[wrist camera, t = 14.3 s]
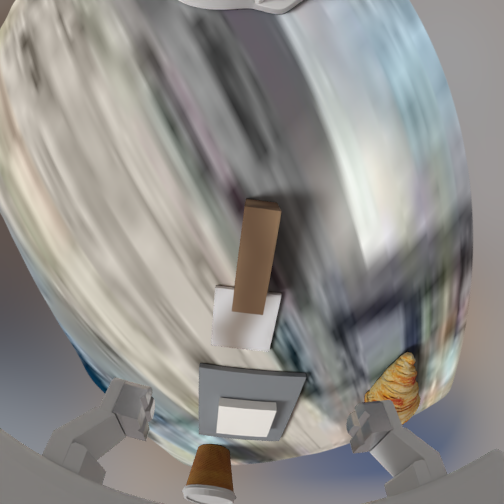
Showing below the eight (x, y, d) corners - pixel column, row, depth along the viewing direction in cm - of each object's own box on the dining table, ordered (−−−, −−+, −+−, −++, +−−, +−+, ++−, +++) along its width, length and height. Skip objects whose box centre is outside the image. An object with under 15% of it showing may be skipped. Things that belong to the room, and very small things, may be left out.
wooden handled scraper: (297, 205, 26) (305, 214, 22) (268, 348, 32) (270, 371, 28) (225, 195, 26) (220, 203, 22) (211, 342, 32) (207, 364, 28)
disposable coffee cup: (247, 450, 42) (246, 502, 30) (220, 463, 44) (216, 508, 33) (205, 435, 40) (198, 490, 28) (181, 448, 42) (172, 496, 31)
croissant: (378, 336, 36) (371, 372, 29) (439, 342, 31) (442, 379, 24) (357, 417, 43) (346, 449, 36) (404, 423, 38) (398, 456, 31)
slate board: (200, 363, 33) (199, 367, 32) (305, 373, 33) (306, 377, 33) (199, 430, 39) (199, 434, 38) (278, 437, 40) (279, 441, 39)
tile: (218, 405, 32) (216, 432, 35) (276, 410, 33) (266, 437, 36) (219, 396, 34) (217, 424, 37) (275, 401, 34) (266, 428, 37)
